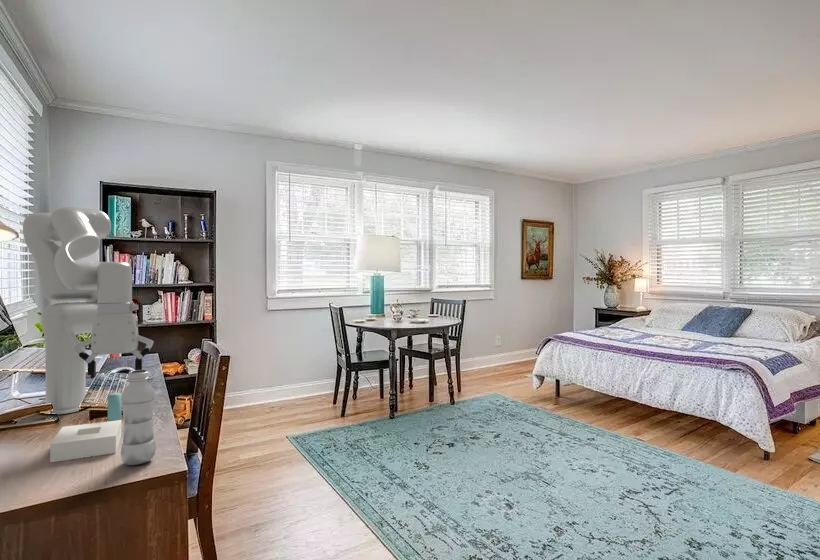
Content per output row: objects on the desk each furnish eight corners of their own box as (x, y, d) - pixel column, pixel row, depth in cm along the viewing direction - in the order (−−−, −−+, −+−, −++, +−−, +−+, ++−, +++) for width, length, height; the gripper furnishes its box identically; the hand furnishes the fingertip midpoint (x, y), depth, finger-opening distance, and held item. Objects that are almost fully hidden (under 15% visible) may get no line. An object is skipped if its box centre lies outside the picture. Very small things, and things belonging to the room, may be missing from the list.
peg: (108, 429, 118) (108, 393, 118) (122, 427, 119) (122, 392, 119) (106, 433, 115) (107, 396, 115) (120, 431, 117) (120, 395, 117)
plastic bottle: (162, 458, 101) (163, 369, 100) (135, 471, 94) (135, 376, 94) (141, 454, 103) (141, 367, 102) (113, 466, 96) (113, 373, 96)
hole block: (62, 443, 108) (62, 426, 108) (121, 435, 114) (121, 419, 114) (50, 462, 98) (50, 444, 98) (115, 453, 103) (115, 435, 103)
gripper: (154, 307, 124) (154, 369, 124) (77, 310, 116) (77, 376, 116) (152, 309, 117) (153, 374, 117) (70, 312, 109) (71, 382, 110)
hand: (115, 375), depth 117 cm, fingers open, 9 cm apart
